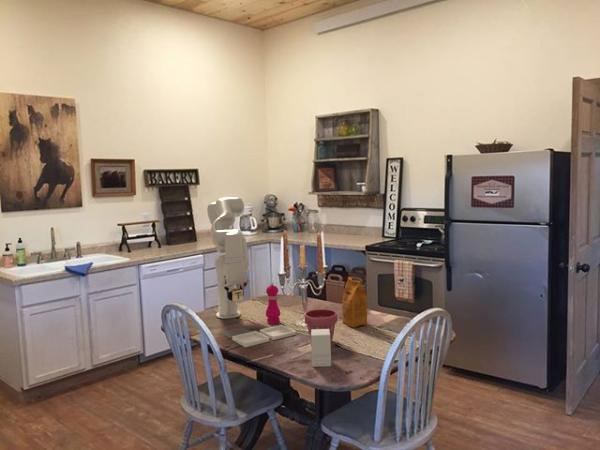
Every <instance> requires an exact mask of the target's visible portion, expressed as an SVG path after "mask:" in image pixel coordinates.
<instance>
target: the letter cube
mask: <svg viewBox="0 0 600 450" xmlns="http://www.w3.org/2000/svg"><path fill="white" fill-rule="evenodd" d="M231 292H232V300H230V301H232V302H237V303H238V302H243V301H244V296H243V290H242V289H240V287H236V288H233V289H231ZM228 300H229V299H228Z"/></svg>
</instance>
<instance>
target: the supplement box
mask: <svg viewBox="0 0 600 450" xmlns="http://www.w3.org/2000/svg"><path fill="white" fill-rule="evenodd" d="M310 342H311V346H310V347H311V364H312V365H311V366H312V367H313V368H317V367H331V366H332V352H331V351H332V349H331V348H332V347H331V344H332V343H330V331H329V329H311V339H310Z"/></svg>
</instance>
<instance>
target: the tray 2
mask: <svg viewBox="0 0 600 450" xmlns="http://www.w3.org/2000/svg"><path fill="white" fill-rule="evenodd" d="M259 333H261V334H263V335H265V336H267V337H269V340H270V339H271V340H273V341H275V340H279V339H282V338H283V339H285V338H287V337H291V336H294V335H295V336H296V335H297V331H296V330H294V329H293V328H291V327H289V326H285V325H283V324H279V325H274V326H271V327H270V326H269V327H266V328H262V329H259Z"/></svg>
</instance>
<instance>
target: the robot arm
mask: <svg viewBox="0 0 600 450" xmlns="http://www.w3.org/2000/svg"><path fill="white" fill-rule="evenodd" d="M206 208H207V209H206V210H207V211H206V212H207V216H208V220H209V223H210V224H211V226H210V235H211V242H212V244H213V246H215V250H216V252H217V253H218V254H222V255H219V256H217V257H216V258H215V259H214V268H215V273H216V280H217V281H216V282H217V283H216V284H217V299H218V300H217V301H218V307H217V308H218V311H217V312H216V313H215V316H216V318H218V319H223V320H224V319H225V320H226V319H235V318H238V317H240V316H241V314H242V312H241V311H239V310H238V302H232V301H230V300H232V292H231V289H233V288H237V285H238V288H240V289H242V290H243V297H244V296H245V291H244V290H245V288H246V286H247V285H248V284H249V282H250V280H251V279H249V278H248V276H247V272H248V271H249V269H250V257H249V250H248V244H247V240H246V237H245V236H244V234H243V232H242V231H241V230H240V229H231V227H232V226H233V225H234V224H235V221H236V218H238V217H240V216H242V215H243V214H244V212H245V204H244V201H243V199H242V198H241V197H238V196H236V197H221V198H219V199H217V200H216V201H214V202H210V203H209V204H208V205H207V207H206ZM228 299H229V300H228Z"/></svg>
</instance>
